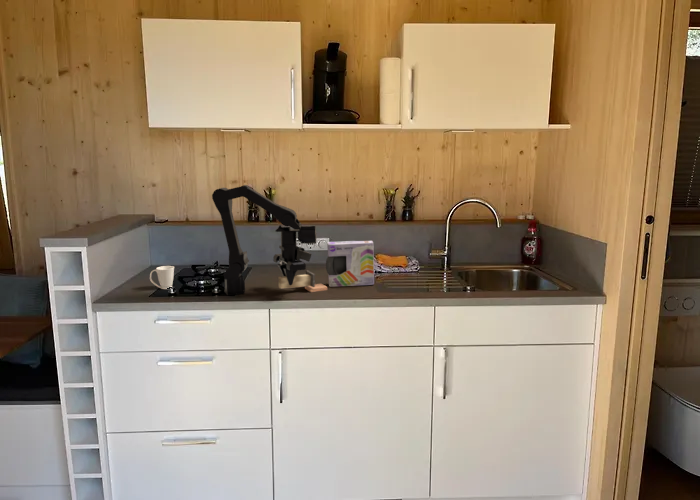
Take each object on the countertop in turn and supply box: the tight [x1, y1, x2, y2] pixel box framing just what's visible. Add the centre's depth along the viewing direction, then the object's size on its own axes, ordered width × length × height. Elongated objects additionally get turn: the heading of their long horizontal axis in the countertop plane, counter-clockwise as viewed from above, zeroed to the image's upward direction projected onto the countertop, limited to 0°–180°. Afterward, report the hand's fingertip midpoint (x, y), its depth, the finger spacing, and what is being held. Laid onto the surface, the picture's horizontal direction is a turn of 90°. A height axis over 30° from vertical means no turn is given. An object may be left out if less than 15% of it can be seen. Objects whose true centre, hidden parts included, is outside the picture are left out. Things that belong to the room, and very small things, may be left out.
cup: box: [149, 265, 175, 290], centre depth 196 cm, size 7×10×8 cm
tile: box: [304, 283, 328, 293], centre depth 195 cm, size 2×6×7 cm
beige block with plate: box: [278, 269, 316, 290], centre depth 190 cm, size 13×7×5 cm, turn 118°
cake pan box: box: [325, 240, 375, 288], centre depth 199 cm, size 19×5×18 cm, turn 95°
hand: (289, 284), depth 189 cm, fingers closed on beige block with plate, 2 cm apart
